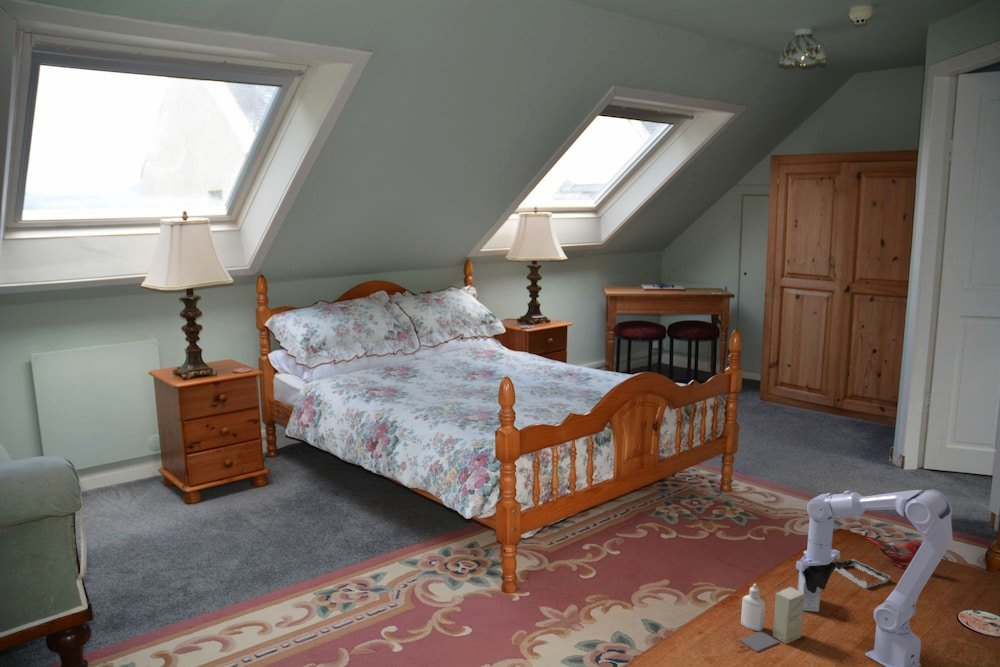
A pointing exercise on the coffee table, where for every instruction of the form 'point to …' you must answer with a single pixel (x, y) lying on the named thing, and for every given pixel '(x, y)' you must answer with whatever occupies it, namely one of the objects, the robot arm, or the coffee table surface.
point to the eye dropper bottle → (753, 610)
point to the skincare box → (788, 615)
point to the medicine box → (808, 595)
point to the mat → (759, 641)
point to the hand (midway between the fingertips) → (815, 589)
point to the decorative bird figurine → (899, 551)
